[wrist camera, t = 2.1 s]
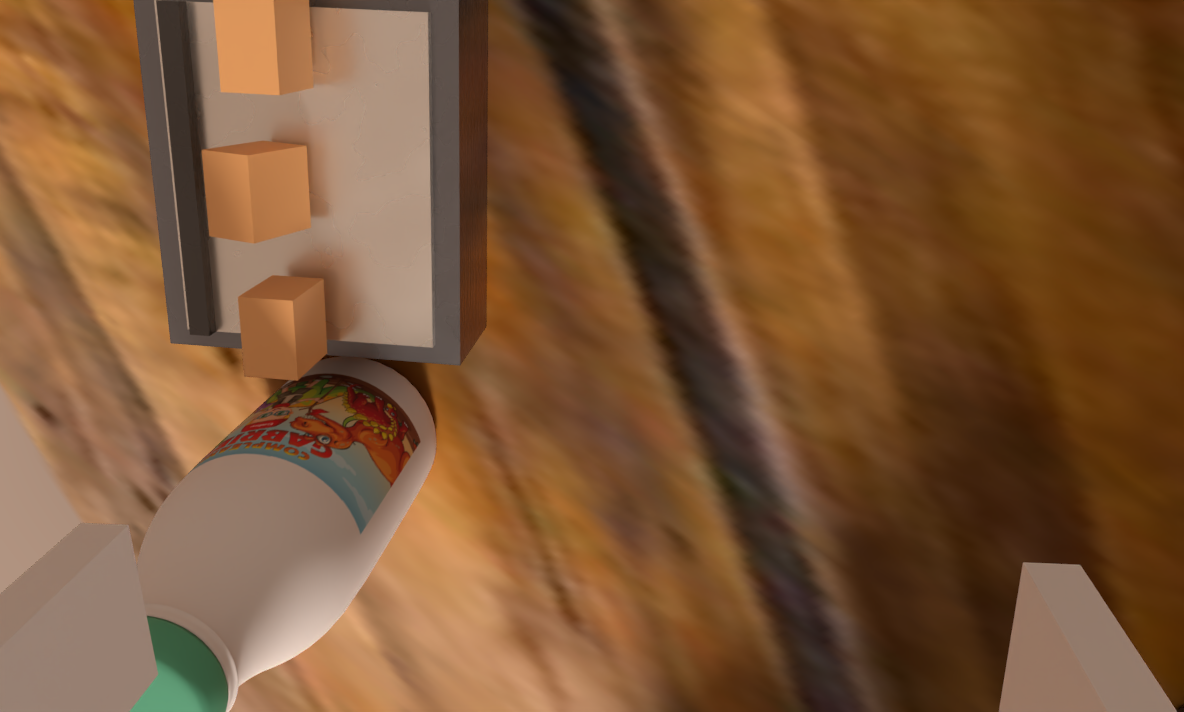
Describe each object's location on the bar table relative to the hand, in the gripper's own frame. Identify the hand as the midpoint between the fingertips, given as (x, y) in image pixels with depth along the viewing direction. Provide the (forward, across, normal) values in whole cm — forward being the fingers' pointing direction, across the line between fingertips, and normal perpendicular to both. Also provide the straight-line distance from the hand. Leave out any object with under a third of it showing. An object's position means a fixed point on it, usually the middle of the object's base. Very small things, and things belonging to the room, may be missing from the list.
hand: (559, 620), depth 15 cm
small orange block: (+24, +13, -2) cm, 27 cm away
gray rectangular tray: (+29, +13, -2) cm, 32 cm away
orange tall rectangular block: (+24, +12, -7) cm, 28 cm away
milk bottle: (+29, +13, +11) cm, 34 cm away
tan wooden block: (+24, +13, +3) cm, 27 cm away
